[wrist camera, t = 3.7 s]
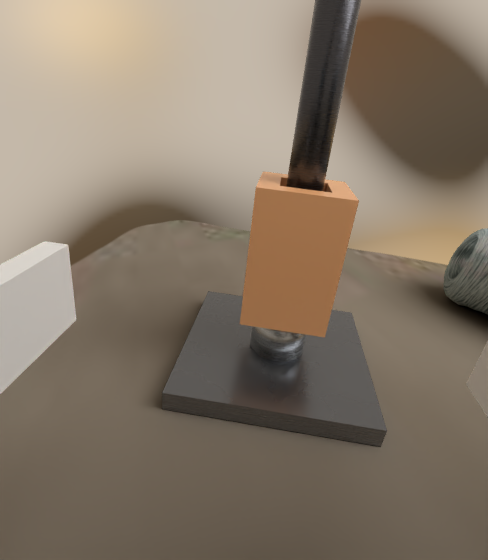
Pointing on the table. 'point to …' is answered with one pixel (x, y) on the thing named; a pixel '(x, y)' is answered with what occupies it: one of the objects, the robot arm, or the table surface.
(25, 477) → the table surface
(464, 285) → the spool
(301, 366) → the stand
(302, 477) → the table surface
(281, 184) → the sleeve
